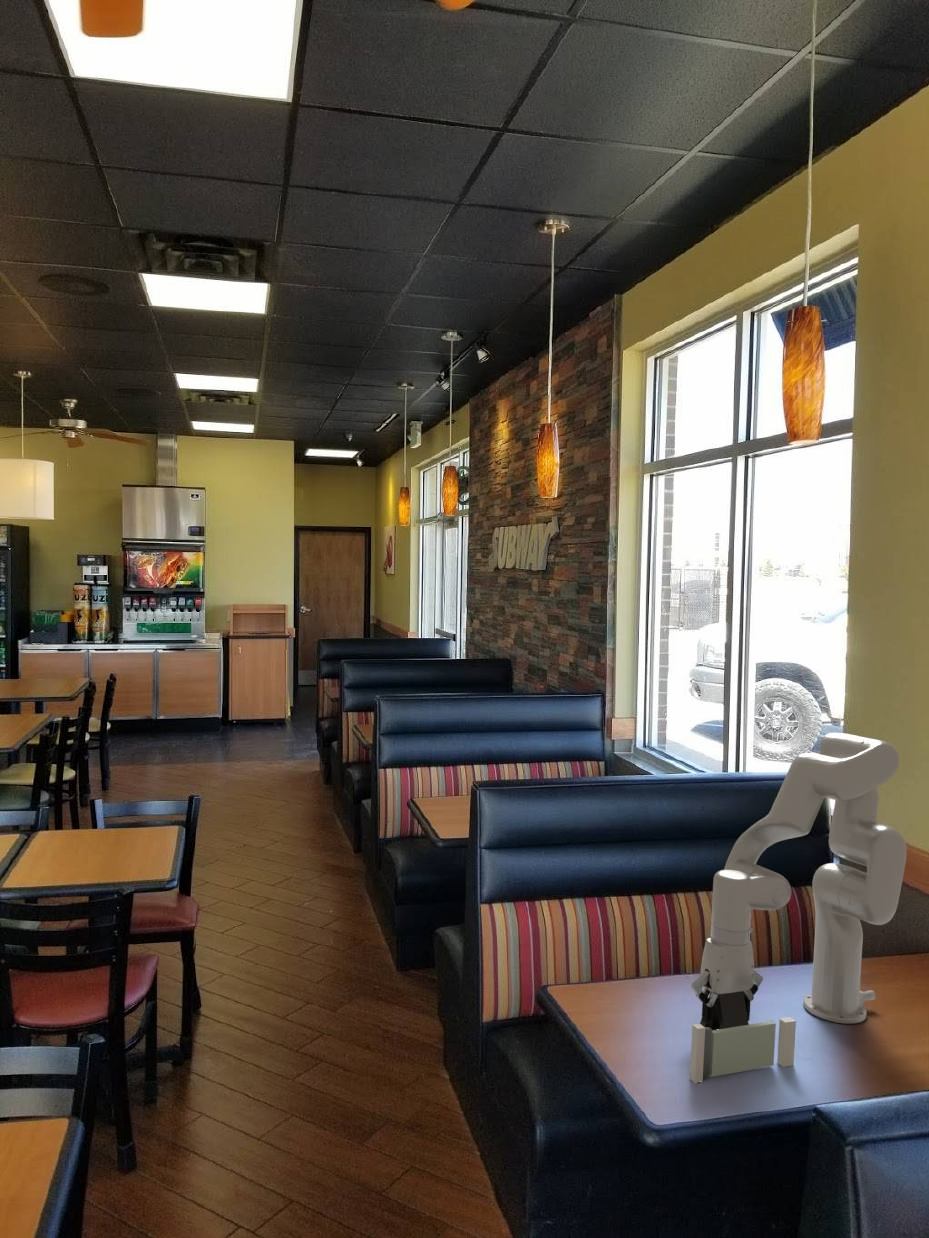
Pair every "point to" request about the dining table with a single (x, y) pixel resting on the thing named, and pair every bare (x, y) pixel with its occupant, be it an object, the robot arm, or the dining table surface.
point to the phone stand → (729, 1011)
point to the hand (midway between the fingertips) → (725, 1020)
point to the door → (738, 1048)
